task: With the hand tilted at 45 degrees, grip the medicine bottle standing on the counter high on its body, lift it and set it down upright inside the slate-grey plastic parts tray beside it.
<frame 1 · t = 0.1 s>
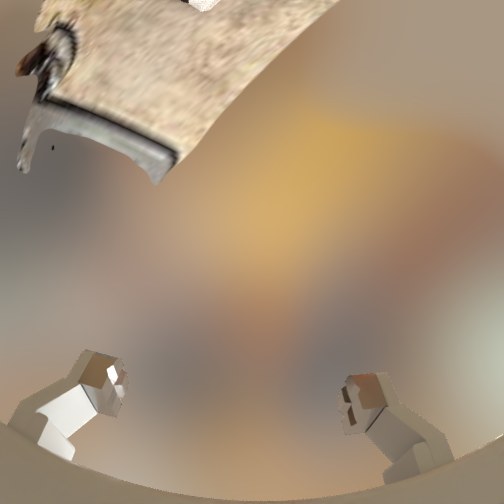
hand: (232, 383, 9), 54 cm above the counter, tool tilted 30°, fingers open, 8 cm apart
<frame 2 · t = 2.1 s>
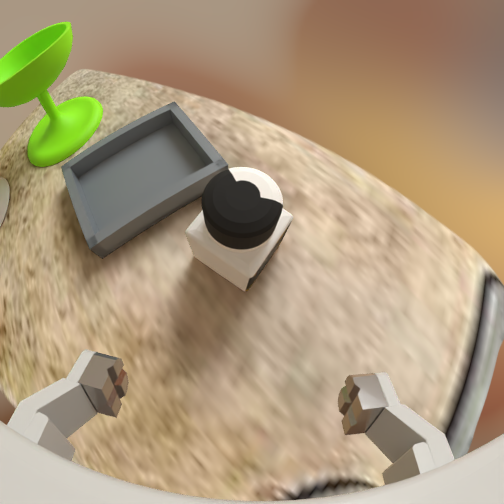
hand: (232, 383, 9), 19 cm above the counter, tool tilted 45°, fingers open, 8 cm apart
parts tray: (140, 178, 33), on the counter
wineglass: (63, 129, 35), on the counter
medicine bottle: (237, 249, 31), on the counter
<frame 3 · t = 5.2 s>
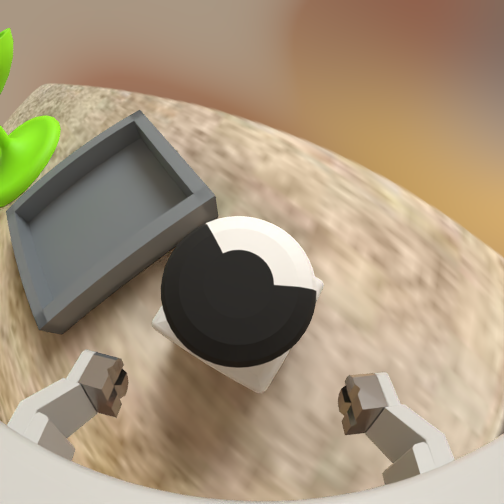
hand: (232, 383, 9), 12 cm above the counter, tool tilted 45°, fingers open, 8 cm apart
parts tray: (101, 219, 23), on the counter
wineglass: (18, 159, 26), on the counter
medicine bottle: (238, 319, 21), on the counter
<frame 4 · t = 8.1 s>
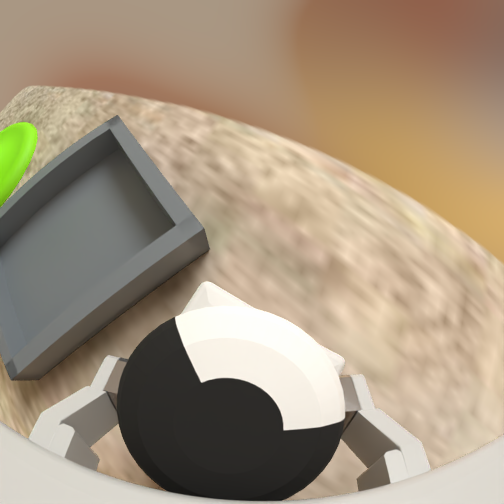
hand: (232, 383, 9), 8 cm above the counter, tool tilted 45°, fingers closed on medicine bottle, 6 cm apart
parts tray: (73, 249, 19), on the counter
medicine bottle: (235, 377, 17), on the counter, touching gripper
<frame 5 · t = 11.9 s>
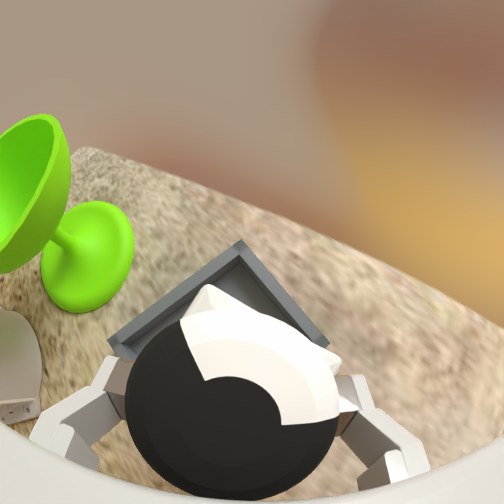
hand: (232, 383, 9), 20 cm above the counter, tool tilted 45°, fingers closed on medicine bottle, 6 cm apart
parts tray: (216, 347, 28), on the counter
wineglass: (83, 254, 32), on the counter
medicine bottle: (235, 376, 17), point 11 cm above the counter, touching gripper
when the fingers open (11 cm above the counter, at t = 15.6 s): medicine bottle stays where it is, resting on parts tray.
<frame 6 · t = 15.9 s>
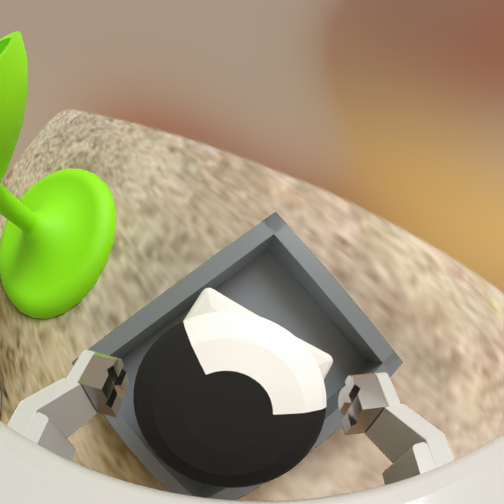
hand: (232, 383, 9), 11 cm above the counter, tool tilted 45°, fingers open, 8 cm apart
parts tray: (236, 374, 19), on the counter
wineglass: (49, 238, 22), on the counter
medicine bottle: (234, 374, 18), point 1 cm above the counter, touching parts tray
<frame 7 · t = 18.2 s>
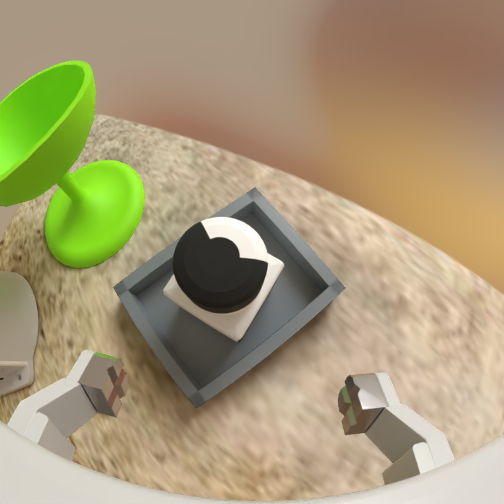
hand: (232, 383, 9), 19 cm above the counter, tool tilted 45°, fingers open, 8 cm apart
parts tray: (228, 297, 29), on the counter
wineglass: (90, 210, 32), on the counter
medicine bottle: (227, 295, 28), point 1 cm above the counter, touching parts tray
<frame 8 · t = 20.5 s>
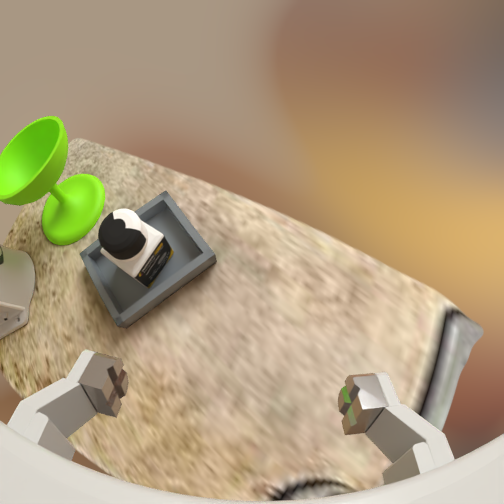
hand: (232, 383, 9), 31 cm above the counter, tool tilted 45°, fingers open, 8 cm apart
parts tray: (147, 261, 43), on the counter
wineglass: (71, 208, 46), on the counter
medicine bottle: (145, 259, 42), point 1 cm above the counter, touching parts tray
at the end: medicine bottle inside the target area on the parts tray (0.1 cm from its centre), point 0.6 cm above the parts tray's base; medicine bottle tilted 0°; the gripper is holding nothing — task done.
